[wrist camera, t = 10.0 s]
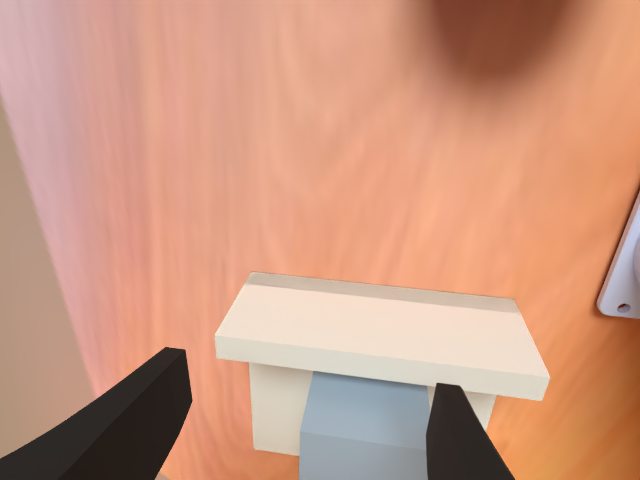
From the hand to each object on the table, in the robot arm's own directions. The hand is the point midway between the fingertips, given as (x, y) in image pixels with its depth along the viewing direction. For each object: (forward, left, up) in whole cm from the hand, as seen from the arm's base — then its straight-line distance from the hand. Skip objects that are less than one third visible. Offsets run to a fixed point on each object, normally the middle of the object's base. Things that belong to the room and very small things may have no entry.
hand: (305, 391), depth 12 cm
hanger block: (-2, +8, -8) cm, 12 cm away
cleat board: (-2, +8, -9) cm, 13 cm away
